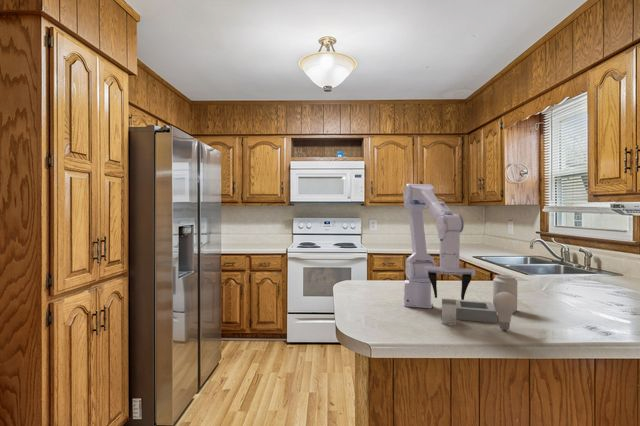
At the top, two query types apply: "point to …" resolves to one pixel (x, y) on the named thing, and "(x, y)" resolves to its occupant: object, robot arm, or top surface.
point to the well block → (475, 311)
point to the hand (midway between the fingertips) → (449, 298)
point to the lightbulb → (504, 308)
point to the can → (505, 285)
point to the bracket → (449, 311)
